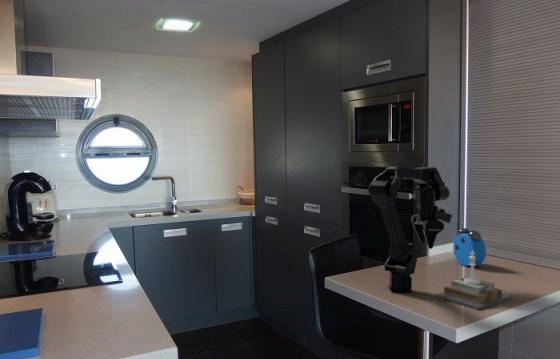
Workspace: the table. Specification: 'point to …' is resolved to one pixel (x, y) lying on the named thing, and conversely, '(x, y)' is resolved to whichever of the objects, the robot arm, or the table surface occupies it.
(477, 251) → the alarm clock
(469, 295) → the stacked blocks
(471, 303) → the baseplate
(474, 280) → the chess piece
